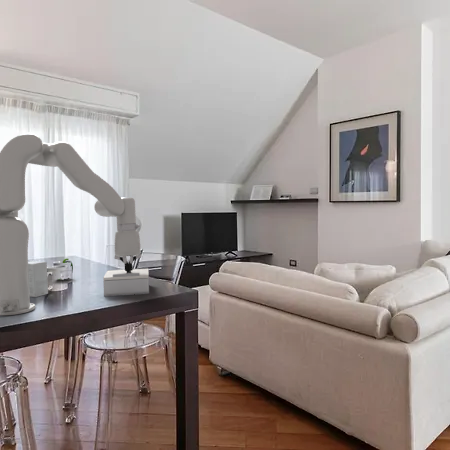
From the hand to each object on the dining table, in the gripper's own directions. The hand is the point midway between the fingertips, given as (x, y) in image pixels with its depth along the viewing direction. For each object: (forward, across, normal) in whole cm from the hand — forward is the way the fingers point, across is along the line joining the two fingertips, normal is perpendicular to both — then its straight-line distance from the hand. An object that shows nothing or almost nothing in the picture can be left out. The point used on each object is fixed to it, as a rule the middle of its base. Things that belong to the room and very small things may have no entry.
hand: (128, 272), depth 159 cm
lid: (+1, +1, 0) cm, 1 cm away
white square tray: (+7, +1, 0) cm, 7 cm away
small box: (+7, +37, -2) cm, 37 cm away
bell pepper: (+7, +32, -33) cm, 46 cm away
